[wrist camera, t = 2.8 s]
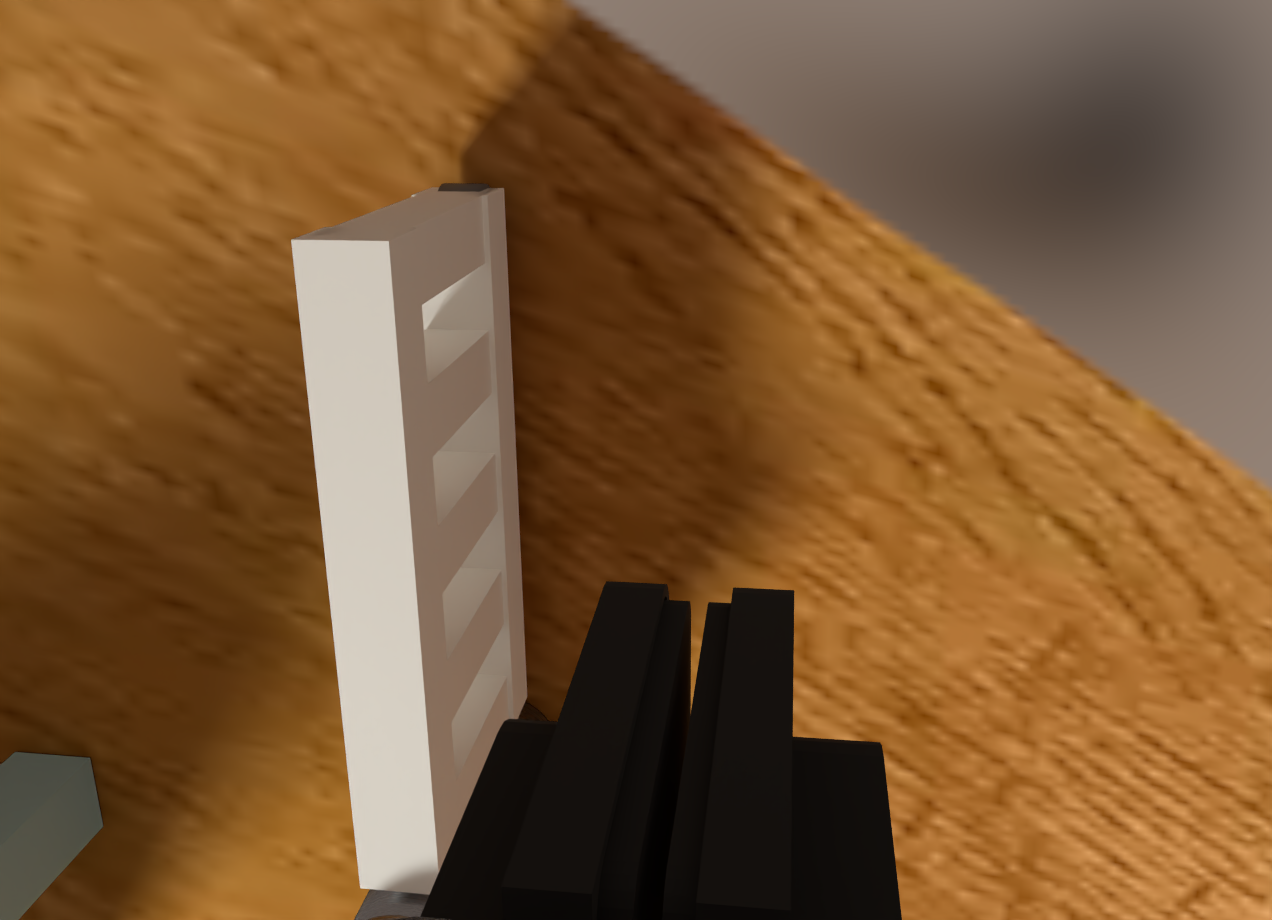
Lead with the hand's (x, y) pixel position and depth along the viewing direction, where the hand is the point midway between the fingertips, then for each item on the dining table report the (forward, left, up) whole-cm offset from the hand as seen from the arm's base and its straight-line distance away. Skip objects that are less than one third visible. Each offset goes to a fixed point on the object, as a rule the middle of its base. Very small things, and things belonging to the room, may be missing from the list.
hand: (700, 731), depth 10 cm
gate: (+6, +2, -13) cm, 14 cm away
